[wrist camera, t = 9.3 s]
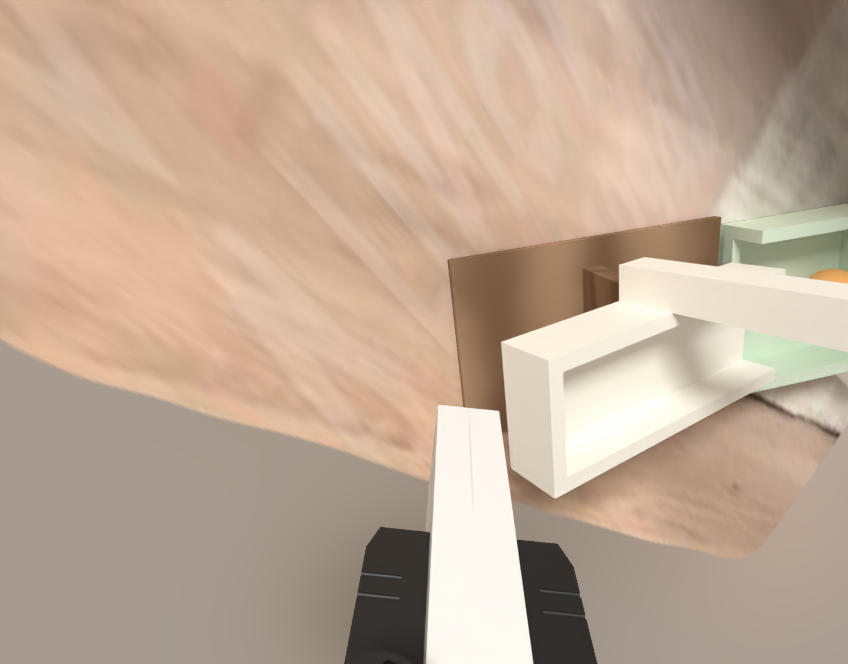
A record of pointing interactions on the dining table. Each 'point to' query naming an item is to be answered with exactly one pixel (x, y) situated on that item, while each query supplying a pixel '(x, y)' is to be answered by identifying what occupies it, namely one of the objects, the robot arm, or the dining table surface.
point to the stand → (551, 292)
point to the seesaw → (652, 362)
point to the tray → (801, 257)
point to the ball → (831, 275)
